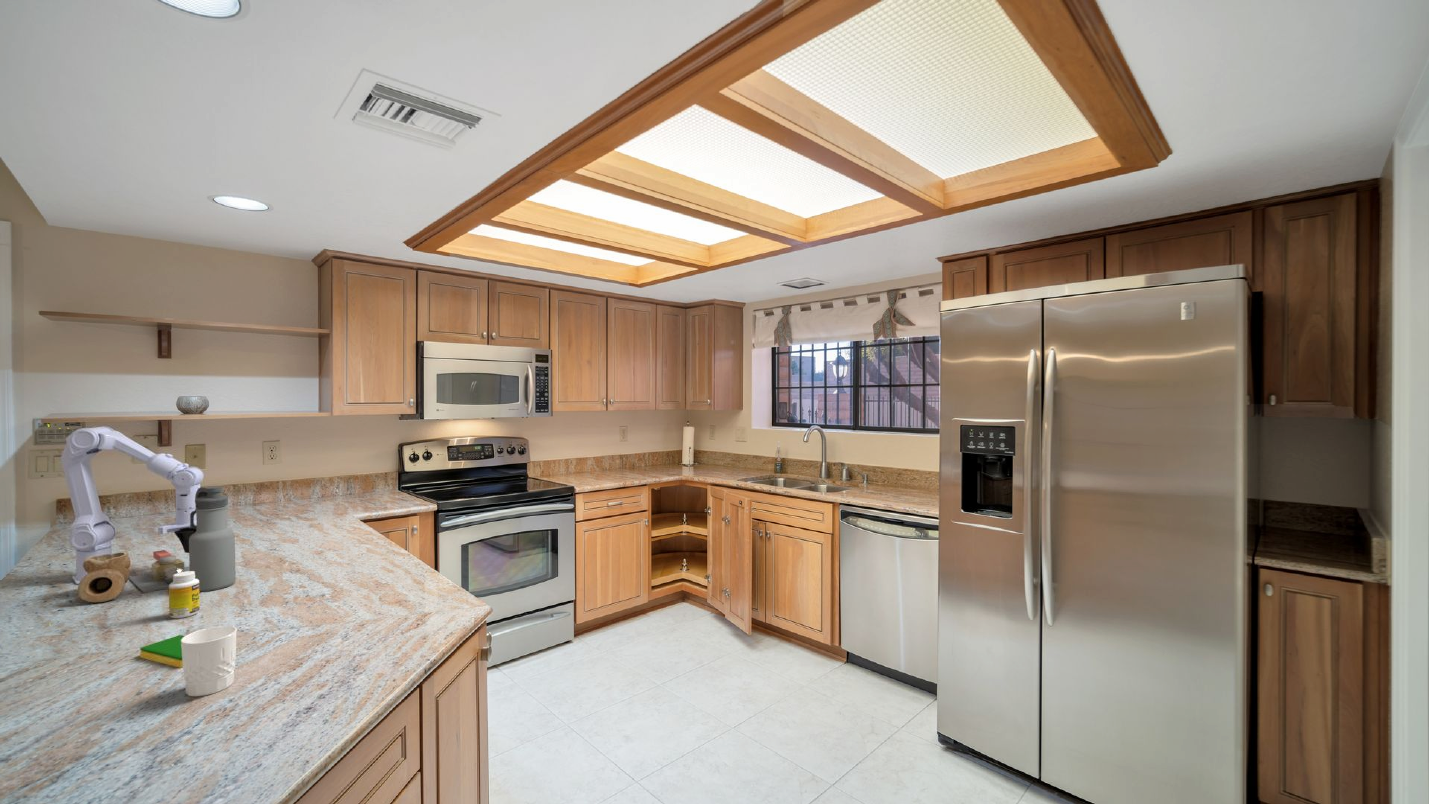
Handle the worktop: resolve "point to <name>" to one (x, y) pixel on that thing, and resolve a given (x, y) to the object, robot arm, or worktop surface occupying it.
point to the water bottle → (212, 541)
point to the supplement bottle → (184, 595)
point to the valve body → (166, 570)
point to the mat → (150, 582)
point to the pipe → (104, 577)
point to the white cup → (209, 660)
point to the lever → (164, 557)
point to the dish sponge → (164, 651)
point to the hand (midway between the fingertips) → (189, 552)
